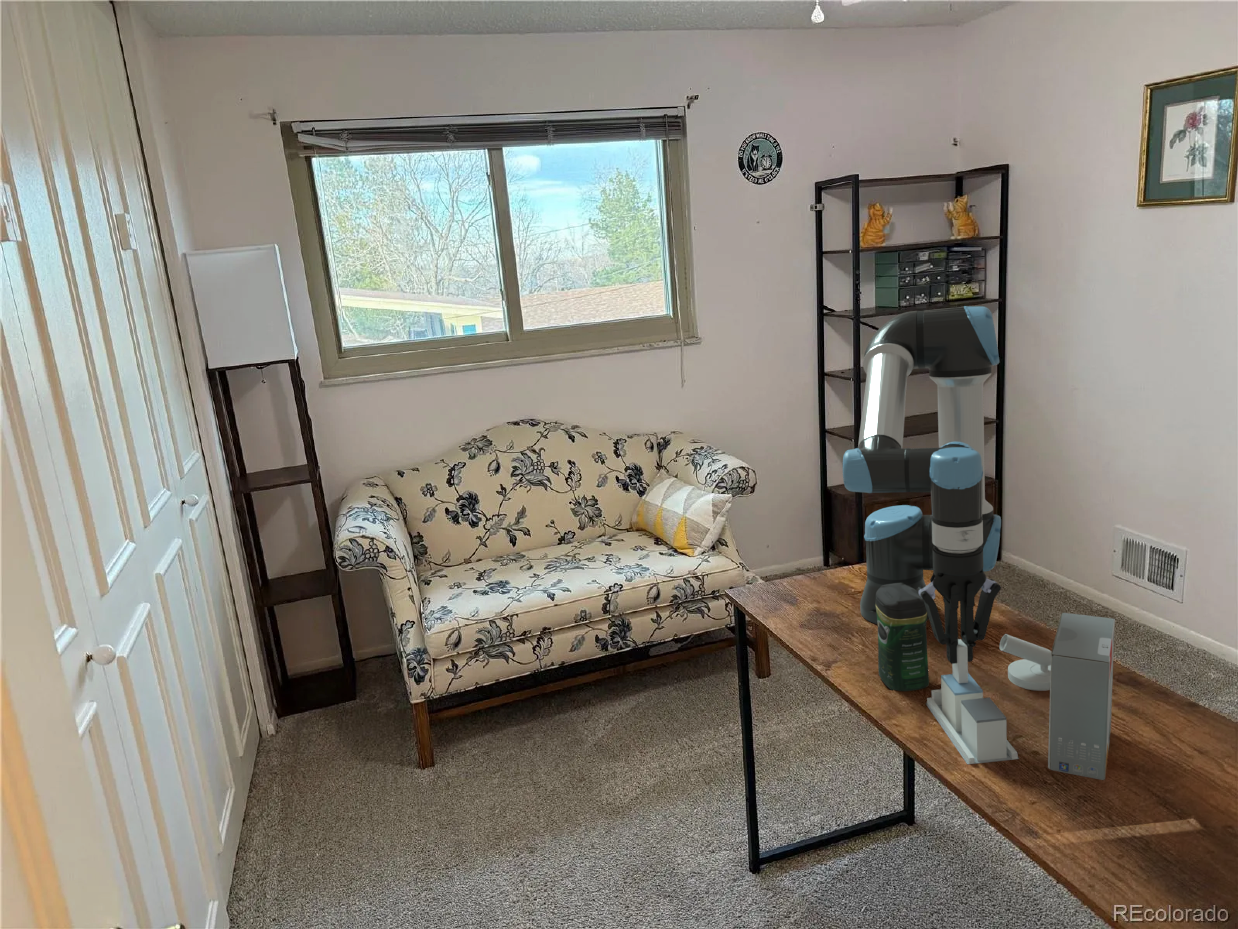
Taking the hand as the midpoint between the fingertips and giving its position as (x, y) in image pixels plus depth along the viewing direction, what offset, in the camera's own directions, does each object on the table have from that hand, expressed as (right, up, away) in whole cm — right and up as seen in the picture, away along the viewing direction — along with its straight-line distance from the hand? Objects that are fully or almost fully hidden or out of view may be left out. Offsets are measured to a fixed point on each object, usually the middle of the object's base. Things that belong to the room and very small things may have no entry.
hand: (960, 678), depth 140 cm
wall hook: (+17, -4, +11) cm, 21 cm away
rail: (+1, -9, -1) cm, 9 cm away
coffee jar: (-4, -5, +17) cm, 18 cm away
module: (+1, -7, +1) cm, 7 cm away
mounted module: (+1, -9, -7) cm, 12 cm away
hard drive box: (+15, -9, -9) cm, 20 cm away
